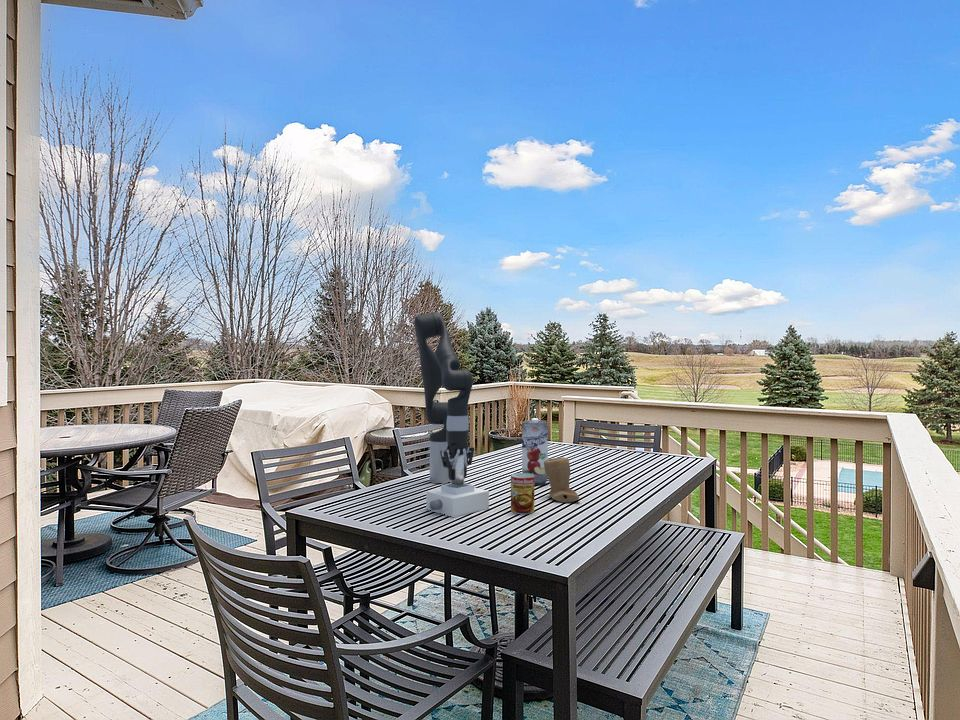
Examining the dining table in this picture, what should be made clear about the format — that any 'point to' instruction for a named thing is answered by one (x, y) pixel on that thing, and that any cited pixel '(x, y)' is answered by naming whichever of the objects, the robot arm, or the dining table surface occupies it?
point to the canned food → (522, 493)
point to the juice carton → (535, 449)
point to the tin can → (459, 471)
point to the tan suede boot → (559, 479)
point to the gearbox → (457, 500)
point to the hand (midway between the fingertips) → (457, 478)
